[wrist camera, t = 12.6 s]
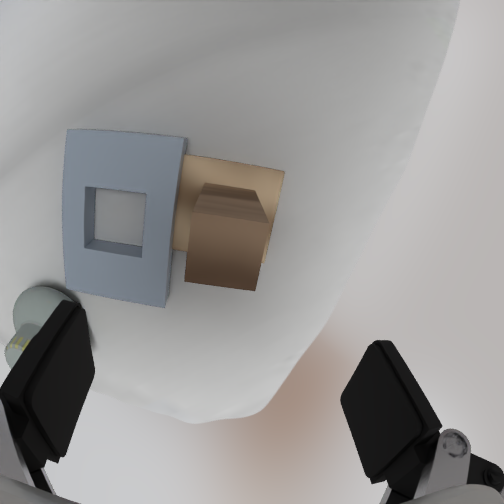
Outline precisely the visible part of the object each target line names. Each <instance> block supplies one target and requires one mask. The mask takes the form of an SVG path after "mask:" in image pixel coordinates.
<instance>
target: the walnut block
mask: <svg viewBox="0 0 504 504" xmlns="http://www.w3.org/2000/svg"><path fill="white" fill-rule="evenodd" d="M269 225H270V223H269V221H268V218H267V216H266V214H265V212H264V209H263V207H262V205H261V203H260V200H259V198H258V196H257V194H256V191H255V190H250V189H244V188H237V187H231V186H225V185H218V184H211V183H205V184H204V186H203V188H202V191H201V193H200V195H199V197H198V200H197V202H196V204H195V207H194V209H193V211H192V218H191V226H190V234H189V242H188V251H187V260H186V270H185V280H184V282H191V283H198V284H205V285H213V286H220V287H227V288H235V289H243V290H251V291H255V289H256V285H257V280H258V276H259V271H260V267H261V262H262V258H263V253H264V248H265V244H266V239H267V235H268V230H269Z"/></svg>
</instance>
